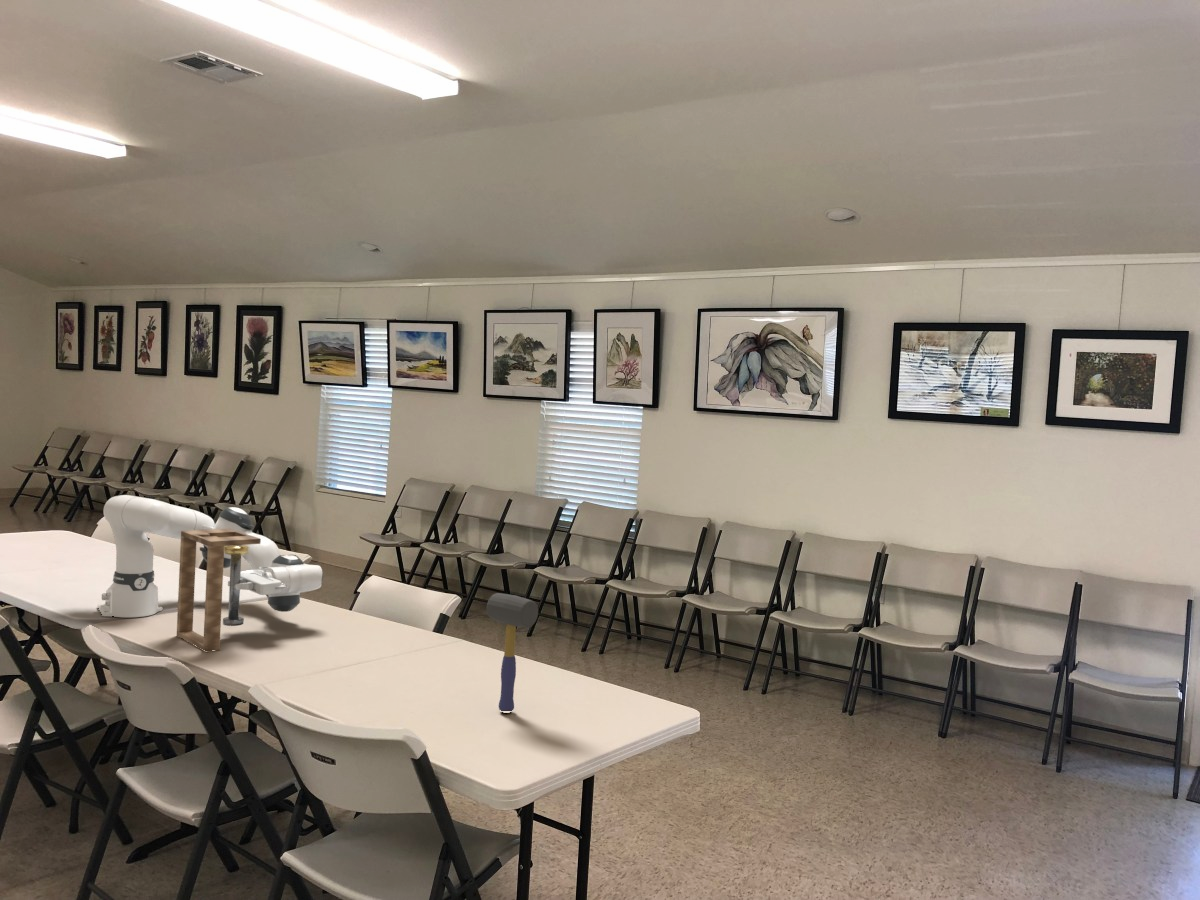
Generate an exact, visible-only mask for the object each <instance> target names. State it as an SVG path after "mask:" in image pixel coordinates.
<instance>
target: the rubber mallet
mask: <svg viewBox="0 0 1200 900" xmlns="http://www.w3.org/2000/svg"><path fill="white" fill-rule="evenodd" d="M486 614H487V616H488V617H489V619H491V620H493V621H495V622H498V623H501V624H505V625H506V627H505V641H504V654H503V658H502V662H501V667H500V668H501V669H500V682H501V685H500V698H499V702H498V709H499V711H500V710H501V711H512V710H513V711H514V709H515V703H514V701H515V700H514V692H515V691H514V690H515V682H516V675H517V674H516V673H517V661H516V660H517V659H516V656H515V650H516V631H517V627H518V628H519V627H520V628H524V629H525V628H526V629H527V628H528V629H529V628H531V627H532V626H533V625H535V623H536V621H537V619H538V616H539V608H538V604H537V603H536V602H535V601H533V600H532V599H529V598H525V597H521V596H519V595H515V594H508V593H502V592H500V593H499V592H497V593H493V594H492V595H491V596H490V597H489V599H488V601H487V603H486ZM513 711H512V712H513Z"/></svg>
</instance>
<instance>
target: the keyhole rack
mask: <svg viewBox="0 0 1200 900" xmlns="http://www.w3.org/2000/svg"><path fill="white" fill-rule="evenodd" d="M197 543H199V544H201V543H202V544H201V545H203V544H205V545H207V546H208V552H207V562H206V573H205V574H206V578H205V598H204V599H205V602H204V620H203V623H204V625H203V635H201V634H199V633H198V632H196V631H194V630H193V628H194V627H193V626H194V607H195V606H194V604H195V582H196V562H197V560H196V558H197ZM260 543H261V539H260V538H257V537H254V536H250V535H247V534H244V533H241V532H238V531H235V530H232V529H213V530H192V531H181V540H180V546H179V547H180V549H179V570H178V571H179V573H178V592H177V593H178V594H177V615H176V616H177V617H176V618H177V619H176V637H178V636H179V637H181V638H183V639H184V640H183V639H182V640H183V641H185V640H186V641H185V642H187V641H188V642H190V643H192V644H194V645H196V646H197V647H199V648H201V649H203V650H205V651H212V650H219V651H221V650H220V648H221V647H220V646H221V625H222V605H223V604H222V602H223V600H222V599H223V585H224V584H223V581H224V568H223V563H224V546H231V545H248V544H260ZM179 637H178V638H179ZM181 638H180V639H181ZM188 642H187V643H188ZM190 643H189V644H190ZM192 644H191V645H192ZM194 645H193V646H194ZM197 647H196V648H197ZM199 648H198V649H199ZM201 649H200V650H201ZM203 650H202V651H203ZM212 652H213V651H212Z"/></svg>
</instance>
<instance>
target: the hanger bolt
mask: <svg viewBox="0 0 1200 900" xmlns="http://www.w3.org/2000/svg"><path fill="white" fill-rule="evenodd" d="M248 550H249V546H247V545H231V546H224V553H225V554H229V555H231V564H230V567H229V568H230V569H229V581H230V587H229V590H228V610H227V611H228V613H227V614H228V615H227V616H226V617H224V618H222V625H223V626H227V627H228V626H229V627H236V626H242V625H244V621H245V620H244V619H245V618H244V617H243V616H240V599H241V598H240V596H241V594H240V593H241V589H240V590H236V589H234V584H235V583H240V575H241V570H242V569H241V568H242V555H243V554H248Z"/></svg>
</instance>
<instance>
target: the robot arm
mask: <svg viewBox="0 0 1200 900" xmlns="http://www.w3.org/2000/svg"><path fill="white" fill-rule="evenodd" d="M103 517H104V519H105V520H106V521H107V522H108V525H109V526H110V529H111V531H112V535H113V539H114V543H115V549H116V551H115V552H116V554H115V556H116V558H115V559H116V560H115V571H114V574H113V578H112V584H111V585H110V586H109V587H108V588H107V589H106V591H105V593H102V594H101V601H105V602H103V603H98V604H97V607H98V608H99V609H98V608H97V609H98V611H99V610H100V611H99V613H100V612H101V613H100V615H101V614H102V615H101V617H112V616H114V617H116V618H142V617H148V616H152V615H155V614H156V613H158V612H161V611H163V607H162V606H159V588H158V586H157V585H156V584H154V581H155V571H154V551H155V549H154V546H153V545H152V543H151V542H150V540H149V539H148V535H147V533H148V534H153V535H157V536H161V537H167V538H170V539H174V540H175V539H176V540H180V541H181V531H192V530H213V529H232V530H235V531H238V532H241V533H244V534H247V535H250V536H254V537H257V538H260V539H261V543H260V544H248V545H247V546H249V550H248V554H243V555H241V558H242V559H243V560H244V561H245V563H247V565H249V567H250V569H249V570H248V569H247V570H243V571H241V575H240V583H235V584H234V589H236V590H240V591H241V590H245V591H250V592H252V593H255V594H257V595H260V596H266V597H267V604H268V605H269V606H270V607H271V608H272V609H273V610H274V611H277V612H283V613H284V612H291V611H292V610H294V609H295V608H297V606H298V605H299V604H301V603H300V602H301V600H300V599H301V595H300V593H307V592H311V591H315V590H318V589H320V588H321V587H322V584H323V581H324V572H323V569H322V567H321V565H319V564H307V563H304V561H303V559H302V558H300V557H299V556H298V555H296V554H282V555H281V552H280V549H279V547H278V545H277V544H276V543H275V541H273V540H272V539H270V538H268V537H267V536H265V535H262V534H258V533H255V532H253V531H252V530H253V529H254V528H255V525H254V524H253V522H252V521H253V520H252V518H251V516H250V515H249V513H247V512H246V510H243V509H242V508H239V507H235V506H234V507H232V506H231V507H230V506H229V507H228V506H227V507H225V508H223V509H222V511H221V512H220V513H219V516H218V518H217V521H216V522H215V521H214V519H213V518H212V517H211V516H210V515H207V514H205V513H203V512H201V511H198V510H195V509H191V508H187V507H183V506H179V505H175V504H170V503H168V502H166V501H162V500H158V499H155V498H148V497H141V496H136V495H131V494H130V495H129V494H122V495H115V496H112V497H110V498H109V499H108V500H106V502H105V504H104V506H103ZM200 544H201V545H203V547H202V546H201V547H199V551H200V552H201V554H202V558H203V559H204V561H205V562H206V563H207V552H208V546H207V545H205V544H202V543H200ZM230 564H231V555H229V554H225V553H224V563H223V569H227V568H230ZM227 586H228V587H229V588H230V580H227Z"/></svg>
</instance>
